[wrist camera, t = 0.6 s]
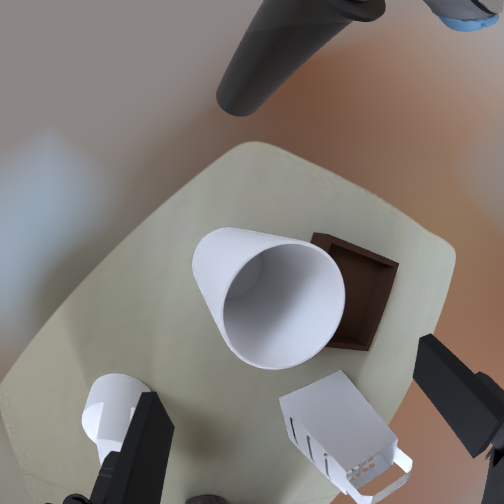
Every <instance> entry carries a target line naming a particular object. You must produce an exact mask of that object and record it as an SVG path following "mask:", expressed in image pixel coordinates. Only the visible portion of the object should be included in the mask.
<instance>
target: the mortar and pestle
mask: <svg viewBox="0 0 504 504" xmlns="http://www.w3.org/2000/svg"><path fill="white" fill-rule="evenodd" d="M185 504H223V500H222V499H221V498H220V497H217V496H210V495H205V496H198V497H194V498H191V499H188V500H187V501H186V502H185Z"/></svg>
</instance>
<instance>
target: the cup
mask: <svg viewBox="0 0 504 504" xmlns="http://www.w3.org/2000/svg"><path fill="white" fill-rule="evenodd" d="M192 270H193V275H194V278H195V280H196V282H197V284H198V287H199V289H200V291H201V293H202V295H203V297H204V299H205V302H206V304H207V306H208V308H209V310H210V312H211V314H212V316H213V318H214V320H215V322H216V324H217V326H218V328H219V330H220V332H221V334H222V336H223V338H224V340H225V342H226V343H227V345H228V346H229V348H230V349H231V350H232V351H233V352H234V353H235V354H236V355H237V356H238V357H239V358H240V359H241V360H243V361H244V362H246V363H248V364H250V365H252V366H255V367H258V368H262V369H271V370H275V369H285V368H289V367H293V366H296V365H298V364H301V363H303V362H305V361H306V360H308V359H310V358H311V357H313V356H314V355H315V354H317V353H318V352H319V351H320V350H321V349H322V348H323V347H324V346H325V345H326V344H327V343H328V341H329V340H330V339H331V337H332V336H333V334H334V333H335V331H336V329H337V327H338V325H339V323H340V320H341V317H342V314H343V310H344V304H345V288H344V282H343V278H342V275H341V273H340V270H339V268H338V266H337V265H336V263H335V262H334V260H333V259H332V258H331V257H330V256H329V255H328V254H327V253H326V252H325V251H324V250H322V249H321V248H319V247H317V246H315V245H313V244H311V243H308V242H306V241H302V240H297V239H293V238H288V237H282V236H277V235H272V234H267V233H262V232H256V231H251V230H245V229H240V228H234V227H224V228H219V229H216V230H214V231H212V232H210V233H209V234H207V235H206V236H205V237H204V238H203V239H202V240H201V241H200V242H199V244H198V245H197V247H196V249H195V252H194V255H193V259H192Z"/></svg>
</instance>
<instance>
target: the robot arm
mask: <svg viewBox="0 0 504 504" xmlns="http://www.w3.org/2000/svg"><path fill="white" fill-rule="evenodd" d="M349 1H353V2H358V3H364V2H367V1H369V0H349ZM423 1H424V2H425V3H426V4H427V5H428V6H429V7H430V8H431V10H432V12H433V13H434V14H435V15H437V16H438V17H439V18H440V19H441V20H442V22H444V24H445V25H446V26H447V27H449V28H451V29H453V30H456V31H462V32H463V31H465V32H467V31H476V30H480V29H482V28H483V27H489V26H491V25H493V24H495V23H496V22H497V21H498V19H499V15H498V13H501V12H502V10H503V2H504V0H423ZM413 379H414V380H415V381H416V383H417V384H418V385H419V386H420V388H421V389H422V390H423V391H424V393H425V394H426V395H427V397H428V398H429V399H430V400H431V402H432V403H433V404H434V406H435V407H436V408H437V410H438V411H439V412H440V414H441V415H442V416H443V418H444V419H445V420H446V422H447V423H448V424H449V426H450V427H451V428H452V430H453V431H454V432H455V434H456V435H457V437H458V438H459V439H460V441H461V442H462V443H463V445H464V446H465V447H466V449H467V450H468V452H469V453H470V455H471V456H472V458H475V457H476V456H478V455H479V454H480V453H482V452H483V451H485V450H486V448H487V447H488V446H489V444H490V443H492V445H493V447H492V448H491V449H490V451H489V452H488V454H487V455H486V457H485V460H486V459H487V458H488V457H489V456H490V463H489V470H488V475H487V480H486V485H485V490H484V495H483V499H482V503H481V504H504V390H503V389H502V388H500V387H499V385H498V384H497V383H495V382H494V381H493V379H492V378H490V377H489V376H488V375H486V374H484V373H482V372H478V373H476V374H474V373H473V372H472V371H471V370H470V369H469V368H468V367H467V366H465V364H463V363H462V362H461V361H460V360H459V359H458V358H457V357H456V356H455V355H454V354H452V352H451V351H450V350H449V349H447V348H446V347H445V346H444V345H443V344H442V343H441V342H440V341H439V340H438V339H437V338H436V337H434V336H433V335H432V334H428V335H425V336H423V337H420V338H419V345H418V351H417V357H416V362H415V368H414V373H413ZM174 428H175V427H174V425H173V423H172V421H171V420H170V418H169V416H168V414H167V412H166V410H165V408H164V407H163V405H162V403H161V401H160V399H159V397H158V395H157V393H156V392H142V393H141V396H140V398H139V401H138V403H137V406H136V409H135V411H134V414H133V417H132V419H131V422H130V425H129V427H128V430H127V433H126V436H125V438H124V441H123V444H122V447H121V450H120V452H118V451H110V453H109V454H108V455H107V456H106V457H105V458H104V461H103V463H102V466H101V469H100V471H99V476H98V477H97V480H96V482H95V485H94V488H93V491H92V494H91V497H90V499H89V500H88V499H87V498H86V497H84V496H83V495H81V494H71V495H69V496H67V497H66V498H65V500H64V501H63V504H160V501H161V495H162V489H163V484H164V478H165V473H166V468H167V462H168V457H169V452H170V447H171V442H172V437H173V432H174ZM490 454H491V455H490ZM46 504H51V503H46Z"/></svg>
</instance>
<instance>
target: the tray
mask: <svg viewBox="0 0 504 504" xmlns="http://www.w3.org/2000/svg"><path fill="white" fill-rule="evenodd" d="M311 244H313V245H315V246H317V247H319V248H321V249H322V250H324V251H325V252H326V253H327V254H328V255H329V256H330V257H331V258H332V259H333V260H334V262H335V263H336V265H337V266H338V268H339V270H340V273H341V275H342V278H343V282H344V288H345V304H344V310H343V314H342V317H341V320H340V323H339V325H338V327H337V329H336V331H335V333H334V334H333V336H332V337H331V339H330V340H329V341H328V343H327V344H326V345H325V346H324V347H333V348H341V349H351V350H361V351H369V348H370V346H371V343H372V341H373V338H374V336H375V333H376V331H377V328H378V326H379V323H380V320H381V317H382V315H383V312H384V309H385V306H386V303H387V300H388V298H389V295H390V291H391V288H392V285H393V282H394V279H395V276H396V272H397V269H398V265H399V263H397V262H395V261H392V260H390V259H388V258H385V257H383V256H381V255H378V254H376V253H373V252H371V251H369V250H366V249H364V248H361V247H359V246H356V245H354V244H351V243H349V242H346V241H344V240H341V239H339V238H336V237H334V236H331V235H329V234H323V233H315V232H314V233H313V236H312V240H311Z"/></svg>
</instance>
